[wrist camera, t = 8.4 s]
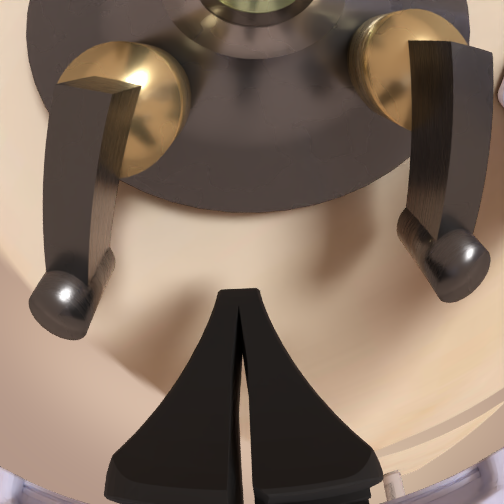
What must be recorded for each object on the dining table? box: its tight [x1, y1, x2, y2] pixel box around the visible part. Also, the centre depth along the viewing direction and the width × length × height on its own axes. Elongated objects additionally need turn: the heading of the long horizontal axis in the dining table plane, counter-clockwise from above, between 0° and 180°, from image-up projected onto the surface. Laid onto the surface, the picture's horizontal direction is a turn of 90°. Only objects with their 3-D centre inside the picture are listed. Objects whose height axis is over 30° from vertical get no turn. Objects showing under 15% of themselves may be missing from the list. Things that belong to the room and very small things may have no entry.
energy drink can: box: [383, 470, 405, 501], centre depth 62 cm, size 6×6×15 cm
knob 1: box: [29, 41, 191, 340], centre depth 8 cm, size 9×4×5 cm, turn 159°
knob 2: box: [347, 9, 493, 303], centre depth 8 cm, size 9×4×5 cm, turn 9°
